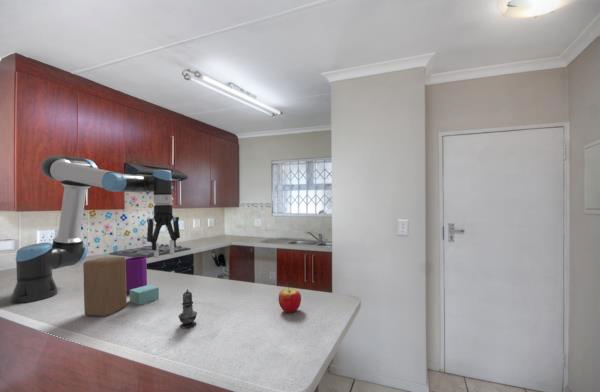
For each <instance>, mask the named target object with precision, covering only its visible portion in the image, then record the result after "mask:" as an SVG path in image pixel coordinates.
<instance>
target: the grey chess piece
mask: <svg viewBox="0 0 600 392" xmlns="http://www.w3.org/2000/svg"><path fill="white" fill-rule="evenodd" d="M193 304H194V301H193V293H192V292H191V291H189V289H186V291H185V292H183V294H182V303H181V305H182V312H181V313H180V314H178V316H177V317H178V318H179V321H180V322H181V324H180V325H179V329H180V330H181V329H182V330H188V329H192V328H194V327H196V326H197V322H196V318H197V315H198V312H197V311H195V310H194V309H193V308H194V307H193Z"/></svg>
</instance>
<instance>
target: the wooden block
mask: <svg viewBox="0 0 600 392" xmlns="http://www.w3.org/2000/svg"><path fill="white" fill-rule="evenodd" d="M126 259H127V258H126V257H125V256H103V257H98V258H95V259H90V260H86V261H84V262H83V265H82V266H83V303H84V306H83V307H84V308H83V309H84V310H83V311H84V313H83V314H84V315H85V316H95V317H96V316H97V317H98V316H99V317H108V316H110V315H112V314H114V313H116V312H118V311H120V310H122V309H125V308H126V307H127V303H128V302H127V300H128V299H127V293H126Z"/></svg>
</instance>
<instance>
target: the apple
mask: <svg viewBox="0 0 600 392" xmlns="http://www.w3.org/2000/svg"><path fill="white" fill-rule="evenodd" d="M285 285H286V286H287V287H288V288H285V289H281V290H280V292H279V293H278V305H279V307H280V308H281V310H282V311H284V312H285V313H294V312H296V311H297V310H299V307H300V306H301V302H302V294H301V293H300V291H299V290H297V289H295V288H290V287H289V285H288V283H287V282H286V283H285Z"/></svg>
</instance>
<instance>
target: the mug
mask: <svg viewBox="0 0 600 392" xmlns="http://www.w3.org/2000/svg"><path fill="white" fill-rule="evenodd" d="M125 259H126V294H130V290H131V289H135V288H139V287H142V286H146V285H148V271H147V270H148V269H147V266H148V265H147V262H148V261H147V257H146V256H134V257H133V256H132V257H129V258H125Z"/></svg>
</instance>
